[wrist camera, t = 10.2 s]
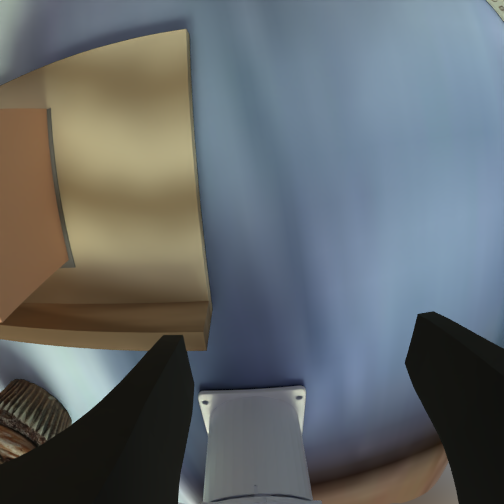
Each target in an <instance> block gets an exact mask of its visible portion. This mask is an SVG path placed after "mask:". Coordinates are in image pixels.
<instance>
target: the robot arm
mask: <svg viewBox="0 0 504 504" xmlns="http://www.w3.org/2000/svg"><path fill="white" fill-rule="evenodd" d="M405 365H406V368H407V371H408V373H409V376H410V379H411V381H412V384H413V387H414V389H415V391H416V393H417V395H418V397H419V399H420V400H421V402H422V404H423V406H424V408H425V410H426V412H427V414H428V416H429V418H430V419H431V421H432V423H433V425H434V427H435V429H436V431H437V433H438V435H439V437H440V439H441V442H442V444H443V446H444V449H445V452H446V455H447V458H448V461H449V464H450V467H451V471H452V475H453V478H454V482H455V487H456V490H457V496H458V501H459V504H504V349H503V348H501V347H499V346H497V345H496V344H494V343H492V342H490V341H488V340H486V339H484V338H483V337H481V336H479V335H477V334H475V333H474V332H472V331H470V330H468V329H467V328H465V327H463V326H461V325H459V324H458V323H456V322H454V321H452V320H450V319H448V318H446V317H444V316H442V315H440V314H438V313H435V312H427V313H421V314H418V315H417V319H416V324H415V328H414V331H413V335H412V339H411V343H410V346H409V350H408V353H407V357H406V360H405ZM299 395H301V396H299ZM193 396H194V381H193V377H192V373H191V368H190V364H189V360H188V355H187V351H186V346H185V342H184V337H183V335H163V336H162V337H161V338H160V339H159V340H158V341H157V342H156V343H155V344H154V345H153V347H152V348H151V349H150V350H149V351H148V352H147V353H146V354H145V356H144V357H143V358H142V359H141V360H140V361H139V362H138V363H137V365H136V366H135V367H134V368H133V369H132V370H131V371H130V372H129V373H128V374H127V375H126V376H125V378H124V379H123V380H122V381H121V382H120V383H119V384H118V385H117V386H116V387H115V388H114V389H113V390H112V391H111V392H110V393H109V394H108V395H106V396H105V397H104V398H103V399H102V400H101V401H100V402H99V403H98V404H97V405H96V406H95V407H93V408H92V409H91V410H90V411H89V412H87V413H86V414H85V415H84V416H82V417H81V418H80V419H79V420H77V421H76V422H75V423H73V424H72V425H71V426H69V427H68V428H66V429H65V430H63V431H62V432H60V433H59V434H57V435H56V436H54V437H53V438H51V439H50V440H48V441H46V442H45V443H43V444H42V445H40V446H38V447H36V448H34V449H32V450H31V451H29V452H27V453H25V454H23V455H21V456H19V457H17V458H14V459H12V460H10V461H8V462H5V463H3V464H0V504H178V493H179V481H180V474H181V468H182V463H183V458H184V453H185V448H186V443H187V438H188V432H189V427H190V422H191V417H192V410H193ZM198 400H199V404H200V408H201V411H202V415H203V419H204V422H205V426H206V430H207V433H208V444H207V457H206V469H205V483H204V497H203V502H200V504H322V501H320V500H319V501H313V499H312V493H311V487H310V481H309V475H308V469H307V463H306V457H305V451H304V445H303V440H302V430H303V420H304V410H305V400H306V389H305V387H304V386H290V387H279V388H265V389H248V390H220V391H201V392H199V394H198ZM205 400H206V401H205Z"/></svg>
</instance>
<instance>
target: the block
mask: <svg viewBox="0 0 504 504" xmlns="http://www.w3.org/2000/svg"><path fill="white" fill-rule="evenodd" d="M68 260H69V258H68V253H67V249H66V245H65V241H64V236H63V232H62V227H61V222H60V217H59V212H58V206H57V201H56V195H55V188H54V182H53V175H52V167H51V158H50V149H49V138H48V125H47V109H33V108H13V109H0V322H2V323H3V322H4V321H5V319H6V318H7V317H8V316H9V315H10V314H11V313H12V312H13V311H14V310H15V309H16V308H17V307H18V306H19V305H20V304H21V303H22V302H23V301H24V300H26V299H27V298H28V297H29V296H30V295H31V294H32V293H33V292H34V291H35V290H36V289H37V288H38V287H39V286H40V285H41V284H42V283H43V282H45V281H46V280H47V279H48V278H49V277H50V276H51V275H52V274H53V273H54V272H56V271H57V270H58V269H59V268H60V267H61V266H62V265H63V264H65V263H66V262H67V261H68Z"/></svg>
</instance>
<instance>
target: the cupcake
mask: <svg viewBox="0 0 504 504" xmlns="http://www.w3.org/2000/svg"><path fill="white" fill-rule="evenodd" d="M71 425H72V420H71V417H70V416H69V414H68V412H67V410H66V409H65V408H64V407H63V406H62V404H61V403H60V402H59V401H58V400H57V399H56V398H54V397H53V396H52V395H50V394H49V393H48V392H47V391H46V390H44V389H43V388H41V387H39V386H38V385H36V384H34V383H30V382H29V381H26V380H23V379H15V380H14V381H11V382H10V383H9V385H8V386H7V387H6V388H5V389H4V390H3V391H2V392H1V393H0V464H3V463H5V462H8V461H10V460H12V459H14V458H17V457H19V456H21V455H23V454H25V453H27V452H29V451H31V450H32V449H34V448H36V447H38V446H40V445H42V444H43V443H45V442H46V441H48V440H50V439H51V438H53V437H54V436H56V435H57V434H59V433H60V432H62V431H63V430H65V429H66V428H68V427H69V426H71Z"/></svg>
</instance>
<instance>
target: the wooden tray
mask: <svg viewBox="0 0 504 504" xmlns="http://www.w3.org/2000/svg"><path fill="white" fill-rule="evenodd" d="M13 108H33V109H47V125H48V138H49V149H50V158H51V167H52V175H53V182H54V188H55V195H56V201H57V206H58V212H59V217H60V222H61V227H62V232H63V236H64V241H65V245H66V249H67V253H68V258H69V260H68V261H67V262H66V263H65V264H63V265H62V266H61V267H60V268H59V269H58V270H57V271H56V272H54V273H53V274H52V275H51V276H50V277H49V278H48V279H47V280H46V281H45V282H43V283H42V284H41V285H40V286H39V287H38V288H37V289H36V290H35V291H34V292H33V293H32V294H31V295H30V296H29V297H28V298H27V299H26V300H24V301H23V302H22V303H21V304H20V305H19V306H18V307H17V308H16V309H15V310H14V311H13V312H12V313H11V314H10V315H9V316H8V317H7V318H6V319H5V321H4V322H3V323H2V322H0V339H4V340H11V341H18V342H26V343H34V344H44V345H54V346H64V347H77V348H91V349H109V350H135V351H149V350H150V349H151V348H152V347H153V345H154V344H155V343H156V342H157V341H158V340H159V339H160V338H161V337H162V336H163V335H183V337H184V342H185V346H186V351H207V344H208V337H209V330H210V323H211V317H212V310H213V309H212V301H211V294H210V286H209V278H208V270H207V261H206V252H205V244H204V235H203V225H202V215H201V205H200V195H199V184H198V173H197V161H196V148H195V135H194V120H193V105H192V87H191V66H190V40H189V33H188V31H187V30H186V29H182V30H176V31H169V32H164V33H158V34H153V35H148V36H143V37H138V38H134V39H129V40H125V41H121V42H117V43H113V44H110V45H106V46H102V47H99V48H95V49H92V50H89V51H86V52H82V53H79V54H76V55H73V56H70V57H68V58H65V59H62V60H59V61H56V62H54V63H51V64H49V65H46V66H44V67H41V68H39V69H36V70H34V71H31V72H29V73H27V74H25V75H22V76H20V77H18V78H16V79H14V80H12V81H9V82H7V83H5V84H3V85H1V86H0V109H13Z"/></svg>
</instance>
